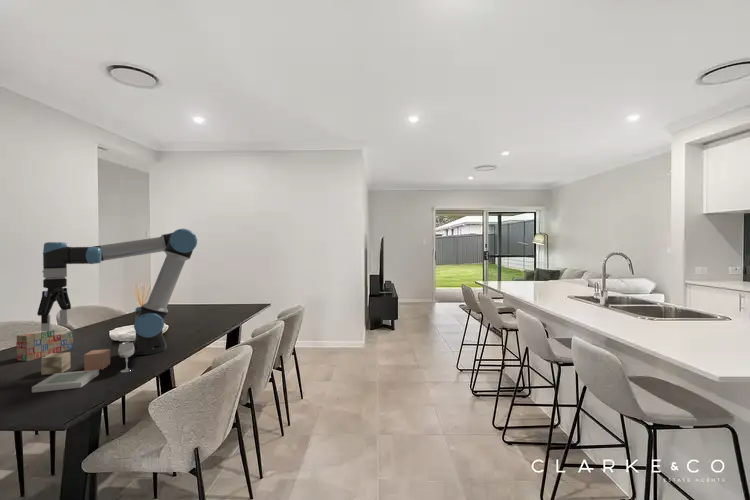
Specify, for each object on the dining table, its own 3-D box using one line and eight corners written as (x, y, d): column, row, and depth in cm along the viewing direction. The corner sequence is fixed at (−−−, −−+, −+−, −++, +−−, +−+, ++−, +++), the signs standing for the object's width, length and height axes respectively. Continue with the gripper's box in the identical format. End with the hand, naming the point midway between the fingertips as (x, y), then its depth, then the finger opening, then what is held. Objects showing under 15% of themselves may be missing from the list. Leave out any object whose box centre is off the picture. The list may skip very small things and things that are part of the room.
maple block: (70, 367, 157) (70, 352, 157) (61, 373, 151) (61, 356, 151) (51, 369, 155) (51, 353, 155) (41, 375, 149) (41, 358, 149)
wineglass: (138, 369, 155) (137, 341, 155) (124, 373, 149) (124, 345, 149) (128, 367, 156) (128, 340, 156) (115, 372, 151) (114, 343, 151)
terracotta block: (110, 364, 162) (110, 349, 162) (103, 369, 155) (103, 353, 155) (92, 366, 160) (91, 350, 160) (84, 371, 153) (84, 354, 153)
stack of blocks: (63, 348, 189) (63, 325, 189) (73, 348, 188) (73, 325, 188) (16, 360, 168) (16, 334, 168) (26, 361, 167) (26, 335, 167)
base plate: (99, 374, 149) (98, 369, 149) (81, 387, 134) (81, 381, 134) (55, 378, 144) (55, 372, 144) (31, 392, 130) (31, 386, 130)
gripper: (60, 276, 164) (60, 322, 164) (25, 280, 140) (25, 334, 140) (80, 275, 166) (80, 321, 166) (48, 280, 142) (48, 333, 142)
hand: (55, 327), depth 153 cm, fingers open, 13 cm apart
